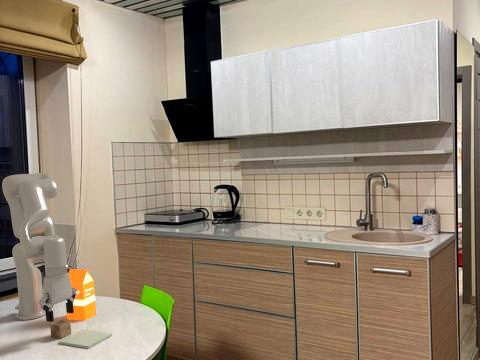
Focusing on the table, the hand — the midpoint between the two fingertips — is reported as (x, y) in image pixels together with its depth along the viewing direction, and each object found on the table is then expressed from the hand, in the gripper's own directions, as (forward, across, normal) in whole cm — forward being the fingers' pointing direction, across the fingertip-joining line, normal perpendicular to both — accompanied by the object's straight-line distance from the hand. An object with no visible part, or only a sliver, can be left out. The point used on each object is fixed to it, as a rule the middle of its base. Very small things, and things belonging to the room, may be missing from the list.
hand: (60, 317), depth 180 cm
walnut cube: (+7, 0, -1) cm, 7 cm away
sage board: (+8, 0, +11) cm, 13 cm away
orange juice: (+7, -19, -9) cm, 22 cm away
